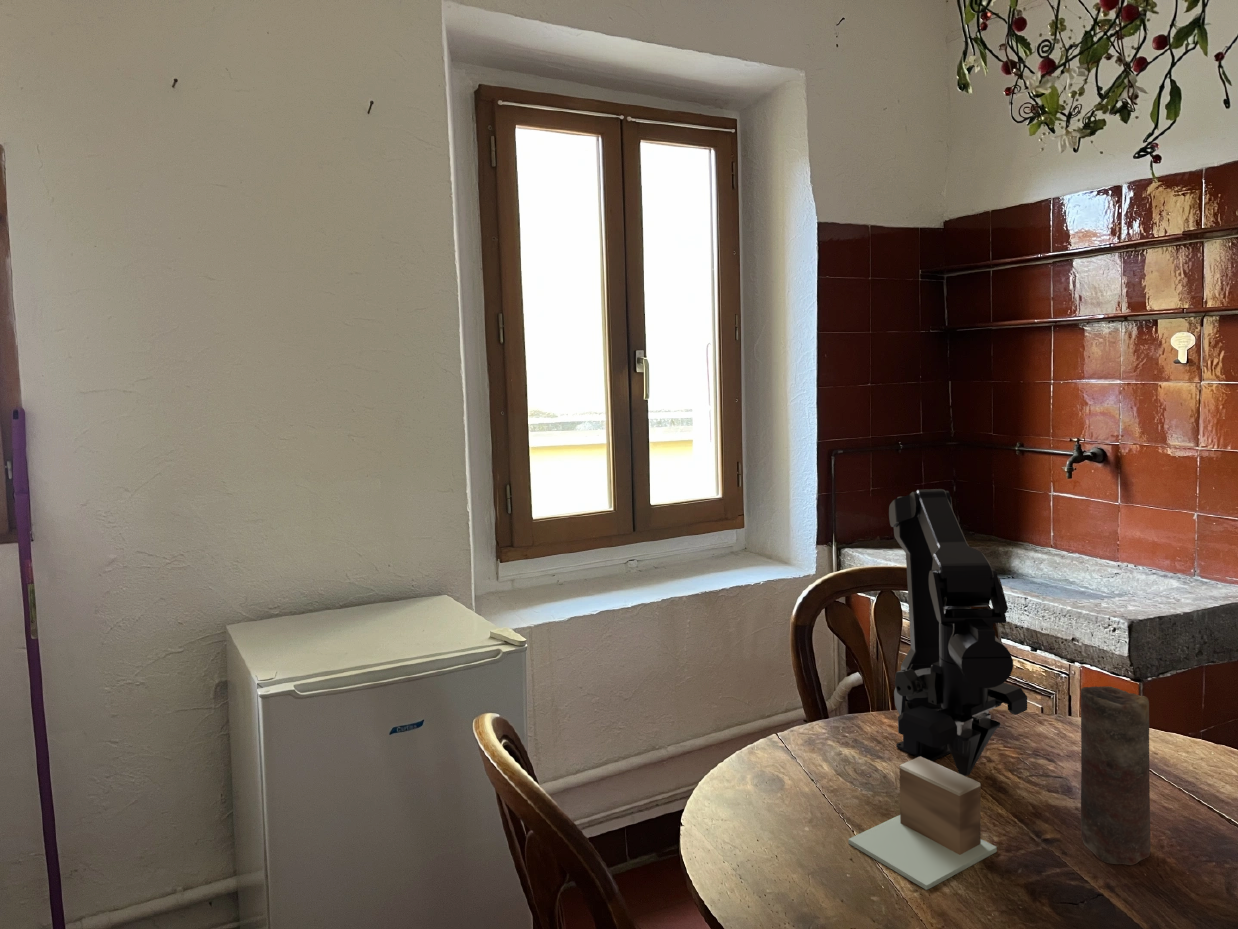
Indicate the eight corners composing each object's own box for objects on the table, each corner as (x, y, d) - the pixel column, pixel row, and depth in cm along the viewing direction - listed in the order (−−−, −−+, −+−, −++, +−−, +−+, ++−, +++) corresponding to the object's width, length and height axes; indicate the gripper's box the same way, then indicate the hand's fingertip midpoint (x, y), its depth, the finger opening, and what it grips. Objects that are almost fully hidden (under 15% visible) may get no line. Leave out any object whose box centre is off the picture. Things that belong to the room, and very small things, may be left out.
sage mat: (916, 811, 116) (916, 806, 116) (996, 851, 106) (996, 847, 106) (848, 843, 109) (848, 839, 109) (926, 890, 99) (926, 885, 99)
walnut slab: (920, 813, 114) (920, 756, 113) (980, 844, 107) (980, 783, 106) (900, 823, 112) (899, 765, 111) (959, 855, 104) (959, 793, 104)
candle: (1067, 835, 109) (1068, 682, 106) (1123, 830, 109) (1125, 678, 106) (1104, 870, 101) (1107, 707, 99) (1164, 865, 101) (1168, 702, 99)
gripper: (956, 627, 121) (956, 733, 123) (863, 657, 111) (865, 772, 113) (1030, 648, 111) (1029, 762, 113) (935, 682, 102) (937, 807, 103)
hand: (964, 774), depth 111 cm, fingers closed
